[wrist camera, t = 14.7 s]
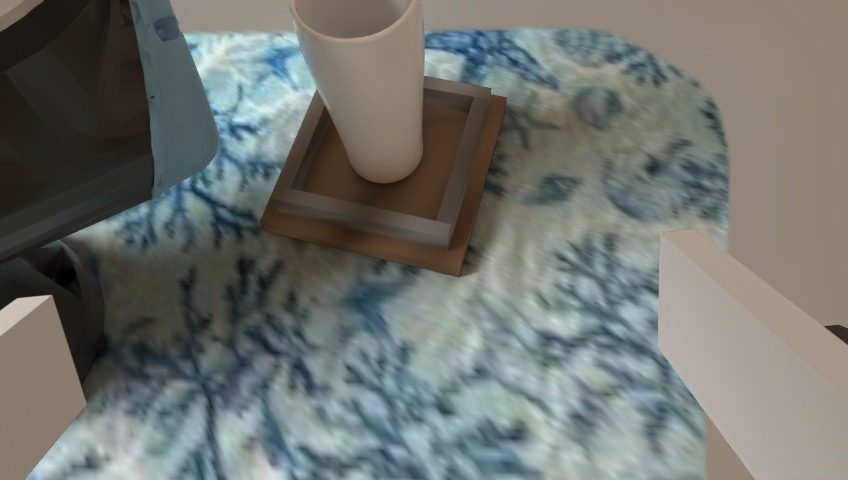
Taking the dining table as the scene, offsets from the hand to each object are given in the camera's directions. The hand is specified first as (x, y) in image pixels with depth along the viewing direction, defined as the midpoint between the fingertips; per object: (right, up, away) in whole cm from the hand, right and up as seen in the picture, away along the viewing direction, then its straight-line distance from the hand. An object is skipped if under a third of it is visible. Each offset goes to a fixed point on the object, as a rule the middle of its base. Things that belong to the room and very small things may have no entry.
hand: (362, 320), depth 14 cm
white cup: (-1, +8, +32) cm, 33 cm away
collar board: (-1, +7, +33) cm, 34 cm away
